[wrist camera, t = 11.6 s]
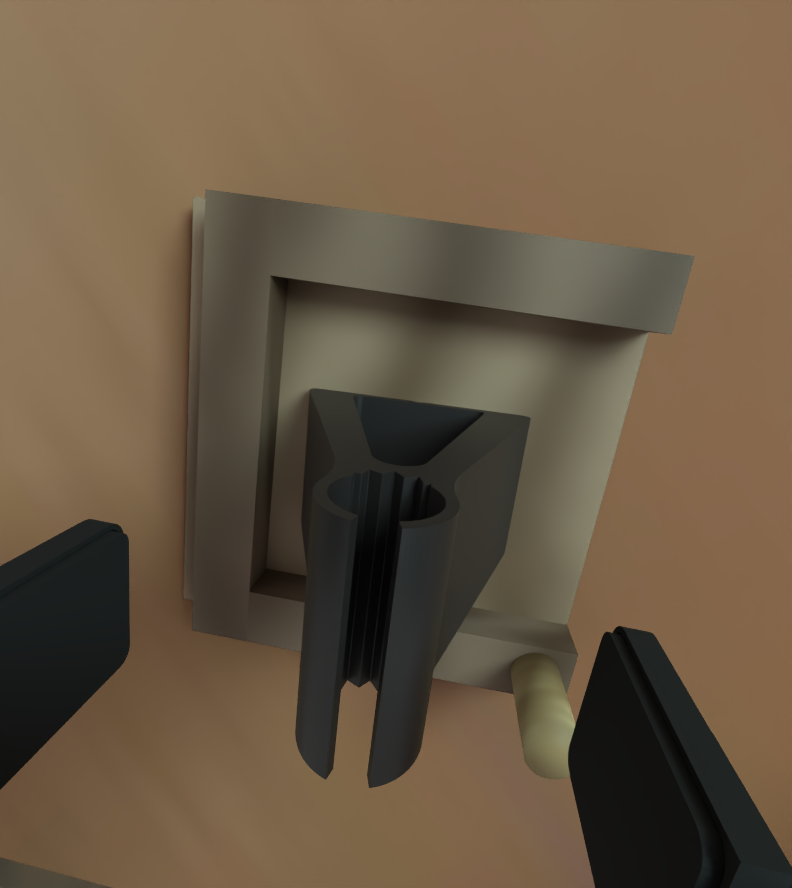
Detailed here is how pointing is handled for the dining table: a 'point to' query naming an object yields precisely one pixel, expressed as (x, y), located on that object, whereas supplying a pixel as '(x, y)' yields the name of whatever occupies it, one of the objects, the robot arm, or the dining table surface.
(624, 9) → the dining table surface
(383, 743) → the phone stand
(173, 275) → the dining table surface
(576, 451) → the board
